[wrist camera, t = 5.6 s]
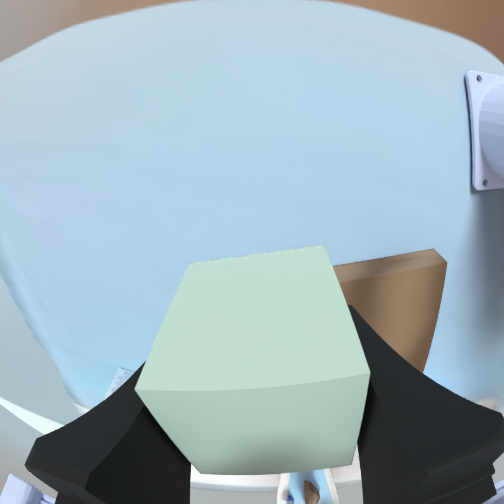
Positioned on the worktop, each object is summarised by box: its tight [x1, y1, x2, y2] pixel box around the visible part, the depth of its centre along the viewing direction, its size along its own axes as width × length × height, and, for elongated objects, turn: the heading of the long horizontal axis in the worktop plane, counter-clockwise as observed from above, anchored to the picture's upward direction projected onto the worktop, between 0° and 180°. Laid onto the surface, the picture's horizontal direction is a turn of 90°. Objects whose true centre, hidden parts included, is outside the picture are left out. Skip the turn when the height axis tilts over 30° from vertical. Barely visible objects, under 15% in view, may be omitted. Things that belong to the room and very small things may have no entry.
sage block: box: [135, 245, 370, 475], centre depth 9 cm, size 5×5×6 cm
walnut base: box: [333, 249, 447, 373], centre depth 20 cm, size 12×12×2 cm
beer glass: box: [275, 468, 340, 504], centre depth 22 cm, size 7×7×15 cm
